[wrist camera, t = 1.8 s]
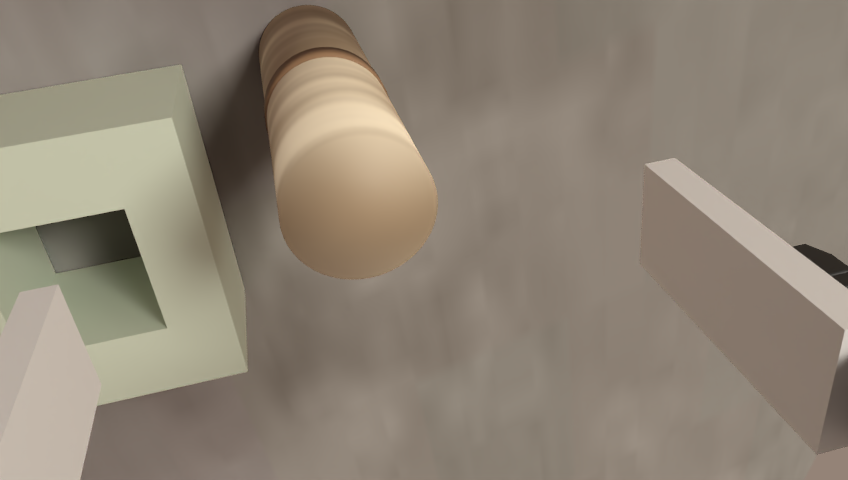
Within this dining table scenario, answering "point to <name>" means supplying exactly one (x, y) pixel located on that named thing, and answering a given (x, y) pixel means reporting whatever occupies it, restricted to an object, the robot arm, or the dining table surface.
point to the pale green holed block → (149, 219)
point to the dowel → (339, 151)
